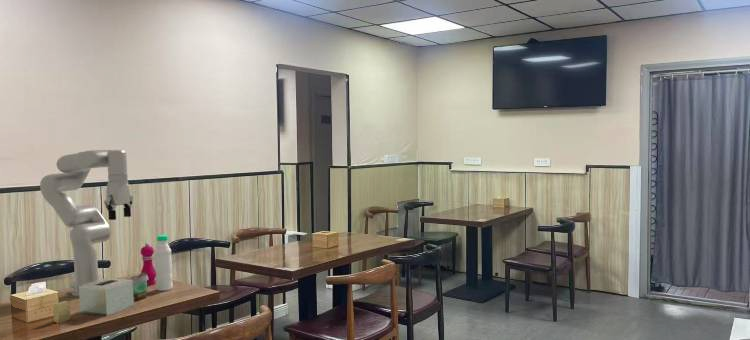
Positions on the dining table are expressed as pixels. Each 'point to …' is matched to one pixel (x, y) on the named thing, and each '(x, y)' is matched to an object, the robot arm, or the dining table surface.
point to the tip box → (106, 296)
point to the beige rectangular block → (61, 311)
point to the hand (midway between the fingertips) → (120, 218)
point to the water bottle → (163, 264)
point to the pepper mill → (148, 264)
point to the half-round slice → (139, 286)
